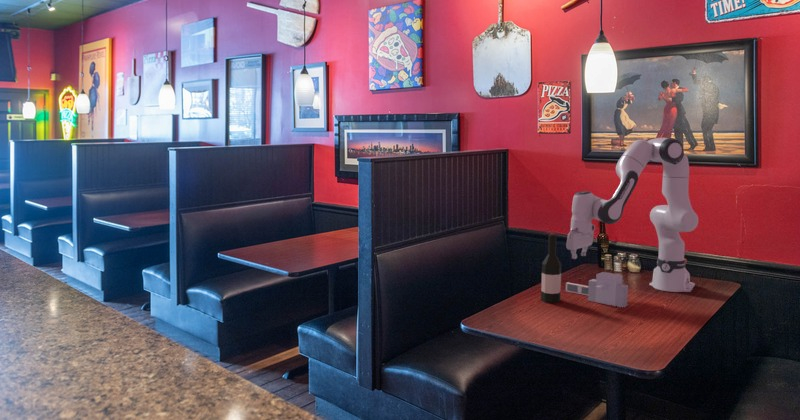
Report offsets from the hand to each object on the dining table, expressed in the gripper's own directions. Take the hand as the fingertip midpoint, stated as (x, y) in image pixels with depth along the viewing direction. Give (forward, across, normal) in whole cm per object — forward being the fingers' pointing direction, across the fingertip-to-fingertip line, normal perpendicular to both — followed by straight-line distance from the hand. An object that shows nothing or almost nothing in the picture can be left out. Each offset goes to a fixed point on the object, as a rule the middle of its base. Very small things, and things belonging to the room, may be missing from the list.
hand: (578, 257), depth 276 cm
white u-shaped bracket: (+17, +6, -1) cm, 18 cm away
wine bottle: (+18, -17, +4) cm, 25 cm away
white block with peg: (+17, -8, -16) cm, 25 cm away
